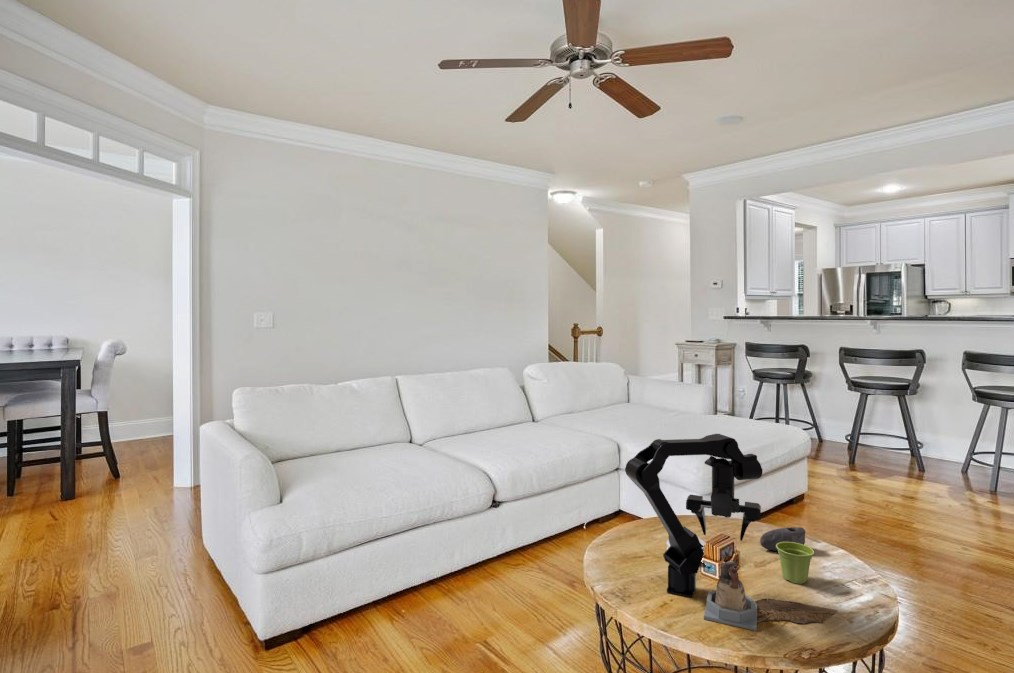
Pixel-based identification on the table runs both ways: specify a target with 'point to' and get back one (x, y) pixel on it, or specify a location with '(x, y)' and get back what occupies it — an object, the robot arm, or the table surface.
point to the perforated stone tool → (782, 537)
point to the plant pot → (794, 561)
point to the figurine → (730, 589)
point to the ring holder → (731, 613)
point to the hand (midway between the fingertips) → (722, 537)
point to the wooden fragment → (791, 611)
